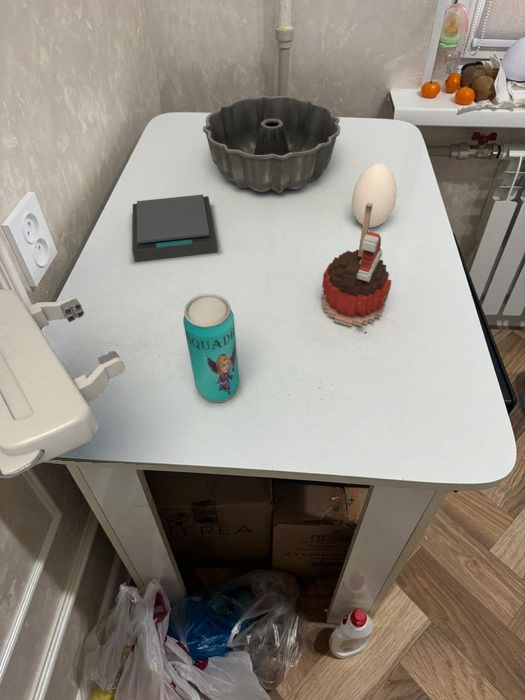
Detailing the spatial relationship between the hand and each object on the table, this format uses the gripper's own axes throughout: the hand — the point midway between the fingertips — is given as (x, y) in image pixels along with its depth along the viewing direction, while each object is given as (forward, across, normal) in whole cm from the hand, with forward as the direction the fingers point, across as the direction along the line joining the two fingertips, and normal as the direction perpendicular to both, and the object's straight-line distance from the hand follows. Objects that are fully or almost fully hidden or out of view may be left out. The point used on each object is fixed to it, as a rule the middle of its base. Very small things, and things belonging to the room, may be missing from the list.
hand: (99, 331), depth 49 cm
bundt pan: (+52, +39, +18) cm, 67 cm away
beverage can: (+12, -1, +18) cm, 22 cm away
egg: (+54, +13, +18) cm, 58 cm away
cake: (+37, 0, +18) cm, 41 cm away
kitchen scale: (+25, +33, +18) cm, 45 cm away
